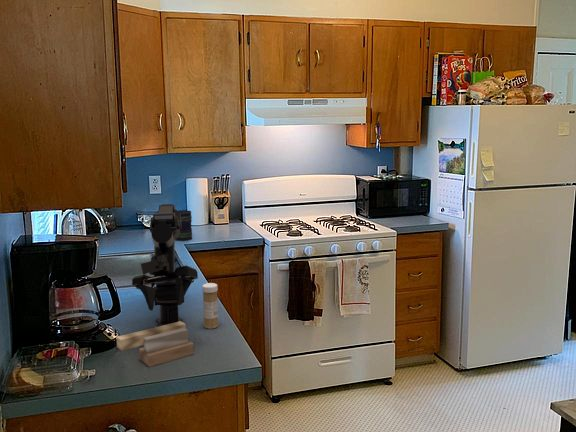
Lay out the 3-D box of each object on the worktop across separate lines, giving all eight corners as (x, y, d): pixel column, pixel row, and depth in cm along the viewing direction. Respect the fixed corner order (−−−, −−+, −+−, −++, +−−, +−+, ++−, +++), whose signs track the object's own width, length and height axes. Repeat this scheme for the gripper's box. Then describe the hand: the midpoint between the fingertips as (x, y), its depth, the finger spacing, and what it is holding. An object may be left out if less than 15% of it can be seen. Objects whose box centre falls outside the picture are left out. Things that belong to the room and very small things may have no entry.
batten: (121, 352, 157) (120, 340, 156) (117, 348, 159) (116, 336, 158) (185, 335, 169) (185, 323, 168) (181, 332, 171) (180, 321, 171)
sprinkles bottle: (212, 322, 178) (210, 281, 176) (221, 326, 175) (220, 284, 173) (200, 326, 175) (199, 284, 173) (209, 330, 172) (208, 287, 169)
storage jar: (195, 239, 302) (194, 212, 299) (177, 242, 297) (176, 213, 294) (188, 236, 310) (187, 209, 308) (170, 238, 305) (169, 211, 302)
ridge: (139, 359, 151) (138, 336, 150) (183, 347, 159) (182, 325, 158) (149, 366, 146) (148, 343, 145) (193, 354, 154) (192, 331, 153)
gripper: (119, 253, 159) (118, 308, 154) (176, 240, 153) (176, 297, 148) (144, 262, 169) (143, 314, 164) (197, 250, 163) (199, 304, 157)
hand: (164, 307), depth 158 cm, fingers open, 9 cm apart
